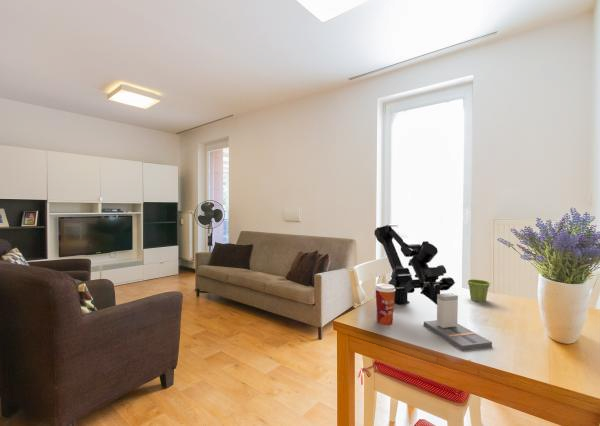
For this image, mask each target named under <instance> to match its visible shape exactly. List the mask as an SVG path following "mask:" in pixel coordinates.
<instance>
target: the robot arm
mask: <svg viewBox="0 0 600 426" xmlns="http://www.w3.org/2000/svg"><path fill="white" fill-rule="evenodd" d="M373 234H374V237H375V238H376V240H377V242H379V243H380V244H381V245H382V247H383V250H384V252H385V255H386V258H387V259H388V262H389V265H390V267H391V275H390V277H391V279H390V280H389V281H388V283H387V284H391V285H393V286H394V287H395V289H396V291H395V296H394V304H396V305H405V304H410V301H409V300H408V294H411V293H414V292H415V291H416V290H415V289H420V290H421V291H420V294H421V295H424V297H426V298H428V299H429V300H430V301H431V302H433V303H434V304H435V305H436V306H437V294H441V291H443V292H444V291H448V290H450V289H451V288H452V287H453V286H454V285H455V284H456V282H455V280H454V278H453V277H450V276H448V277H443V276H444V275H445V274H446V273H447V269H446V267H445V266H444V265H443V264H439V265H437V266H430V267H429V265H428V263H431V261H432V260H433V259H434V258H435V256H436V255H437V254H438V253H439V251H438V248H437V247H436V246H435V245H434V244H433V243H430V242H429V241H427V240H426V241H425V240H424V241H423V242H422V243H421V244H420V243H419V242H417V240H413V239H410V238H409V237H408V236H407V234H405V233H404V232H403V231H402V229H400V228H399V226H398V225H397V224H396V223H395V224H391V223H389V224H386V225H383V226H379V227H376V229H375V230H374V233H373ZM393 240H395V242H396V243H397V244H399V247H400V251H401V253H402V255H403V256H404V257H405V258H411V259H409V261H408V266H409V267H412V268H413V271H414V273H415V275H414V277H415V278H413V277H412V276H413V275H412V274H411V272H410V268H408V267H404V266H403V264H402V261H401V260H400V257H399V255H398V252H397V249H396V246H395V244H394V242H393ZM441 276H442V278H440V280H439V277H441ZM438 280H439V281H438Z"/></svg>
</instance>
